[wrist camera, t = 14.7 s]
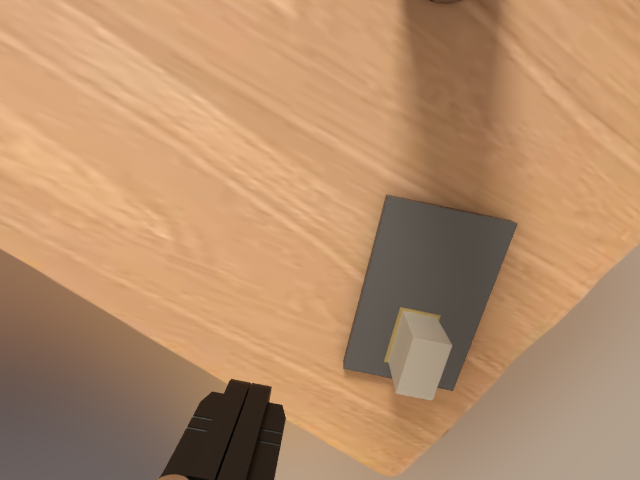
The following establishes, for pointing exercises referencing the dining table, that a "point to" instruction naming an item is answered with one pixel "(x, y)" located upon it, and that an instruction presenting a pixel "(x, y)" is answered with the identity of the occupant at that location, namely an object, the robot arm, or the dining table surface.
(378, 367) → the board
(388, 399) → the dining table surface
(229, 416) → the robot arm
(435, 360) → the block
